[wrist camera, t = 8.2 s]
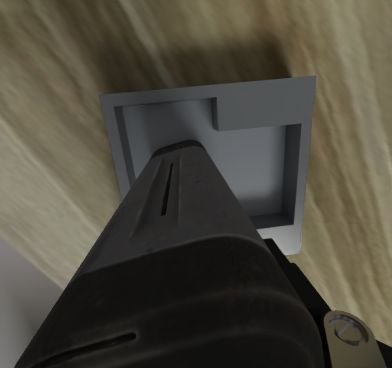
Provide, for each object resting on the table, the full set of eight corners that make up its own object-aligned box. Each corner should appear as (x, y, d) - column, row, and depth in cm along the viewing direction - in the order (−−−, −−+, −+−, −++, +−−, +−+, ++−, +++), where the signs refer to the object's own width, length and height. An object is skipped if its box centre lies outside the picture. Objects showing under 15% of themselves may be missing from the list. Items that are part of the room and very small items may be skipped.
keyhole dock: (292, 81, 22) (316, 75, 19) (283, 234, 29) (299, 253, 25) (112, 97, 21) (98, 94, 18) (144, 252, 28) (138, 274, 24)
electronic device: (146, 151, 22) (-60, 392, 3) (201, 134, 22) (330, 284, 3) (174, 225, 25) (154, 571, 6) (222, 211, 25) (351, 524, 6)
